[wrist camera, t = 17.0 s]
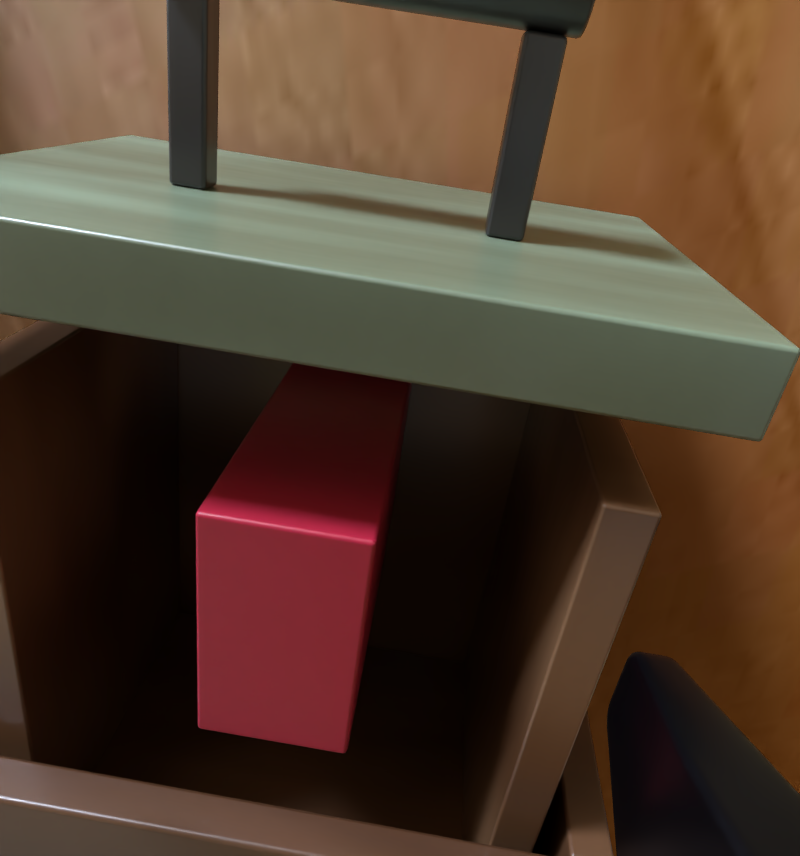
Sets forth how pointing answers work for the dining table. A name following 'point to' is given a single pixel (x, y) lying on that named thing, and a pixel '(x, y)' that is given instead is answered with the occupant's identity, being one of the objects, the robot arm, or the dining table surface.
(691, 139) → the dining table surface
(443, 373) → the drawer
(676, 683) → the robot arm
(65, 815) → the cabinet
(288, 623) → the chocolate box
